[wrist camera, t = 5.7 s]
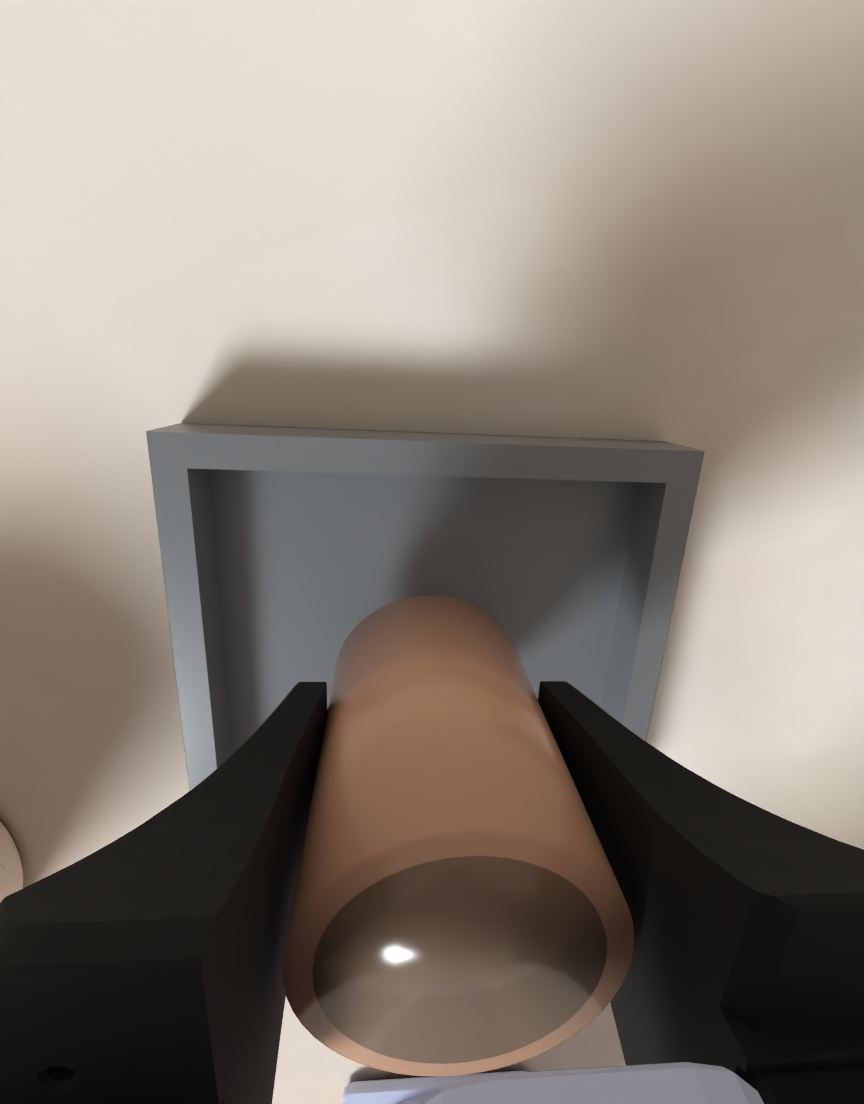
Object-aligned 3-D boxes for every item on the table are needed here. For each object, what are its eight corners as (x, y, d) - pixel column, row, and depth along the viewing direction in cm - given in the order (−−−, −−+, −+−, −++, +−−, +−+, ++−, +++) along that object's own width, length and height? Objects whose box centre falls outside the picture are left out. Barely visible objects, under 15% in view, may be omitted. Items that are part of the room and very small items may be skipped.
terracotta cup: (514, 751, 15) (613, 1065, 8) (339, 759, 14) (295, 1094, 8) (525, 592, 13) (660, 823, 7) (328, 597, 13) (262, 846, 6)
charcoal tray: (602, 790, 19) (626, 838, 17) (217, 798, 18) (196, 850, 16) (664, 441, 15) (704, 451, 13) (179, 423, 14) (146, 431, 12)
